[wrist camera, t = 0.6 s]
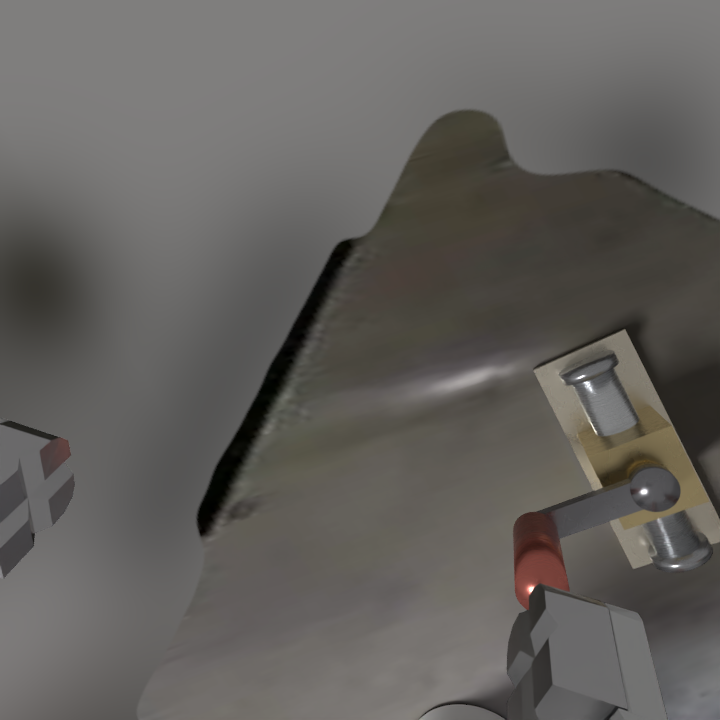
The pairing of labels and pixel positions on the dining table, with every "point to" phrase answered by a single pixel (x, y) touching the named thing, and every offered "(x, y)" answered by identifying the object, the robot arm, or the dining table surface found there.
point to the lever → (582, 524)
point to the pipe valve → (630, 449)
